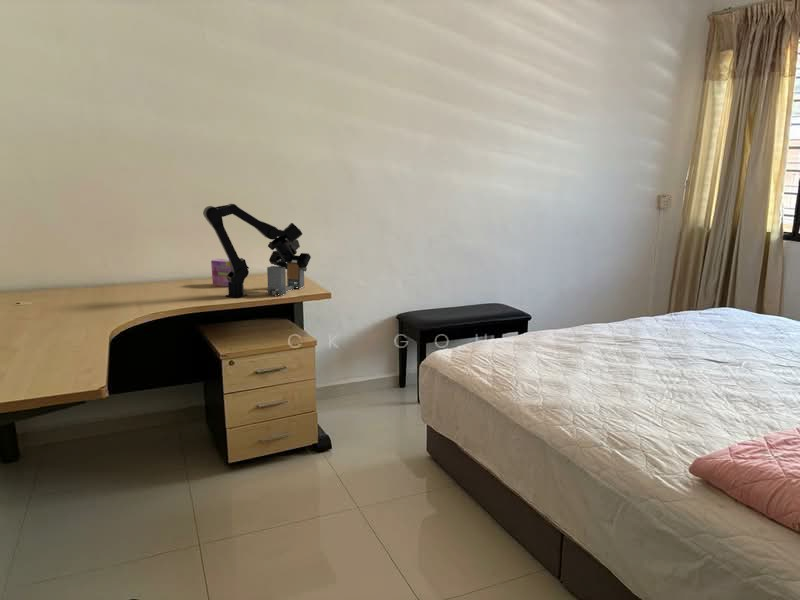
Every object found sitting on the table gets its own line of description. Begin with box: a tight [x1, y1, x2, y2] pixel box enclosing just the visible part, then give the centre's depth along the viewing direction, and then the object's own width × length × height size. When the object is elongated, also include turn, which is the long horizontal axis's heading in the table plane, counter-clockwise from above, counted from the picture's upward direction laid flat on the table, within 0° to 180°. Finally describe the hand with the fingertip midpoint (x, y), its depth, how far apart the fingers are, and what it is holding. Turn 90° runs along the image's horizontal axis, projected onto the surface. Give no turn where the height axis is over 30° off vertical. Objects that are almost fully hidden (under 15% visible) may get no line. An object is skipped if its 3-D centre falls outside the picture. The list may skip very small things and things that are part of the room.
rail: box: [271, 282, 298, 296], centre depth 266 cm, size 24×2×2 cm, turn 161°
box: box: [210, 258, 231, 287], centre depth 274 cm, size 10×6×12 cm, turn 73°
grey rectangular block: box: [286, 261, 305, 289], centre depth 271 cm, size 4×6×12 cm
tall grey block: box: [266, 265, 287, 296], centre depth 256 cm, size 4×6×12 cm
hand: (297, 269), depth 272 cm, fingers open, 9 cm apart
